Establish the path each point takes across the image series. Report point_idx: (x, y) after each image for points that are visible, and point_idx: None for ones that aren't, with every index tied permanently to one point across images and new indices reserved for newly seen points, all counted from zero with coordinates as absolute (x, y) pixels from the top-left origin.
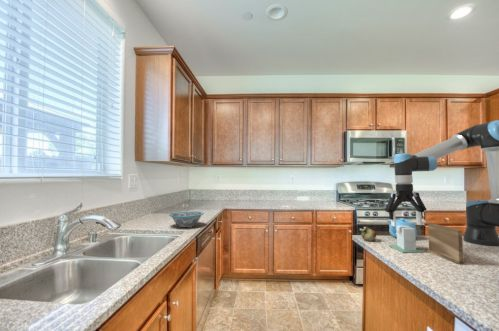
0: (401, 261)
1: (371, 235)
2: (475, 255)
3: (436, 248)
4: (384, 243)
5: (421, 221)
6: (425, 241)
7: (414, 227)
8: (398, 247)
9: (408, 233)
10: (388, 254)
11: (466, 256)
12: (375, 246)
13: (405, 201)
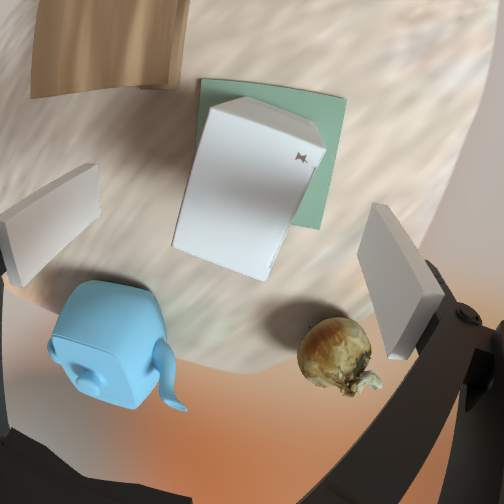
0: (457, 13)
1: (348, 332)
2: (30, 37)
3: (163, 27)
4: (296, 274)
5: (67, 174)
6: (69, 246)
7: (66, 315)
8: None
9: (281, 121)
10: (442, 110)
11: None
12: None
13: (116, 491)
